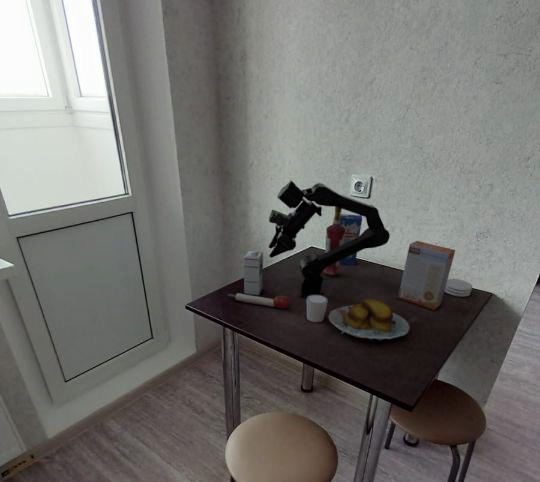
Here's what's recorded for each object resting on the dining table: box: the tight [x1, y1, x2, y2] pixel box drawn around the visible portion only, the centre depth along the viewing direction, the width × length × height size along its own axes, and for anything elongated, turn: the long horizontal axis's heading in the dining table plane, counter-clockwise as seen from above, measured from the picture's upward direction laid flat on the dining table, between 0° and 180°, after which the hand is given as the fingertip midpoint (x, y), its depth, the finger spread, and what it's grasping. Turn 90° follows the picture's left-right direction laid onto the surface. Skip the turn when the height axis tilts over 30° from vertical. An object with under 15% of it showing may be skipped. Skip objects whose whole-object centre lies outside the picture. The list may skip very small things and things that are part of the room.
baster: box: [228, 292, 291, 310], centre depth 140 cm, size 22×4×4 cm, turn 73°
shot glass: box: [306, 294, 329, 323], centre depth 132 cm, size 7×7×7 cm
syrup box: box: [243, 250, 264, 296], centre depth 146 cm, size 6×6×14 cm
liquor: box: [322, 207, 345, 277], centre depth 160 cm, size 7×7×28 cm
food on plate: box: [327, 298, 411, 341], centre depth 128 cm, size 25×25×7 cm
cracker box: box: [397, 240, 456, 311], centre depth 142 cm, size 14×6×21 cm, turn 47°
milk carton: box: [339, 213, 363, 266], centre depth 175 cm, size 10×6×20 cm, turn 81°
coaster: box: [444, 278, 473, 298], centre depth 155 cm, size 10×10×4 cm
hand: (269, 252), depth 140 cm, fingers open, 9 cm apart
